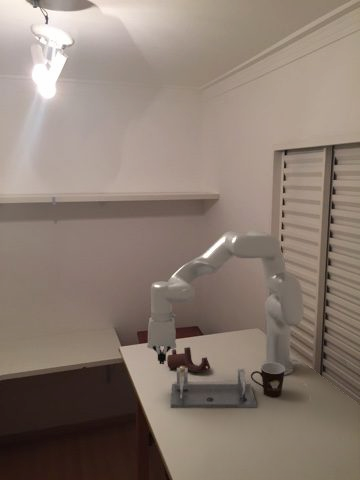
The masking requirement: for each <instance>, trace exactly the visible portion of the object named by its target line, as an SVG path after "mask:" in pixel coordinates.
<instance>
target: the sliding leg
mask: <svg viewBox="0 0 360 480" xmlns="http://www.w3.org/2000/svg"><path fill="white" fill-rule="evenodd" d="M188 371H189V368H187V367H185V366H180V367H179V368H176V382H177V389H180V391H181V399H183V389H188V382H189V377H188V374H189V373H188Z"/></svg>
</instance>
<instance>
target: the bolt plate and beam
mask: <svg viewBox="0 0 360 480" xmlns="http://www.w3.org/2000/svg"><path fill="white" fill-rule="evenodd" d="M170 394H171V396H170V408H178V409H181V408H185V409H186V408H191V409H192V408H197V409H198V408H199V409H200V408H203V409H204V408H206V409H207V408H257V403H256V398H255V395H254V391H253V386H252V384H251V383H250V381H248V380H246V371H245V368H237V380H236V381H230V380H229V381H228V380H227V381H224V380H223V381H219V380H217V381H215V380H214V381H188V389H183V399H181V391H180V389H177V381H174V383H172V384H171V393H170Z"/></svg>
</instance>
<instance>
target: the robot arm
mask: <svg viewBox="0 0 360 480" xmlns="http://www.w3.org/2000/svg"><path fill="white" fill-rule="evenodd" d="M234 257H236V258H239V259H260V260H261V262H262V263H261V264H262V269H263V276H264V284H265V288H266V289H267V290H268V291H269V292H271V293H272V294H270V295H269V296H268V297H267V299H266V300H265V302H264V312H265V319H266V337H265V338H266V339H265V341H266V345H265V347H266V348H265V349H266V351H265V360H264V361H263V362H262V364H261V366H262V365H263V364H264V363H269V362H273V363H278V364H281V365H283V366H284V367H285V373H284V376H287V375H290V374H292V373H293V371H294V366H298V367H299V366H300V367H302V361H301V360H298V358H291V331H292V330H291V329H292V327H296V326H298V325H299V324H300V323H301V322H302V321H303V318H304V314H305V313H304V312H305V309H304V299H303V291H302V285H301V283H300V280H298V278H297V277H296V276H294V275H292V274H291V273H288V272H287V269H286V264H285V258H284V254H283V251H282V249H281V242H280V240H279V239H278V237H277V236H275V235H273V234H271V233H267V232H264V231H262V230H258V229H251V230H249V231H248V232H247V233H246V234H244V233H240V232H237V231H232V230H230V231H227V232H224V233H223V234H222V235H221V236H220V237H219V238H217V240H216V241H215V242H214V243H212V245H211V246H210V247H209V248H208V249H206V250H205V251H204V253H202V254H201V255H199V256H198V257H196V258H194V259H192V260H191V261H188V262H187V263H185V264H184V265H183V266H181V267H180V268H179V269H178V270H177V271H176V272H174V273H173V274H172V275H171V276H170V278H169V279H168V281H156V282H155V281H154V282H153V283H152V284H151V286H150V301H151V302H150V303H151V304H150V307H151V308H150V309H151V313H150V314H151V315H150V317H149V321H148V328H147V347H146V348H148V349H153V350H154V351H155V353H156V354H157V361H158V362H159V365H165V362H166V361H167V353H168V352H169V351H170V350H173V349H176V348H177V344H176V339H177V338H176V337H177V335H176V322H175V318H174V317H176V316H177V313H176V312H174V311H173V304H174V303H176V304H186V303H189V302H191V301H192V300H193V299H194V297H195V296H196V295H195V294H196V292H195V288H194V287H193V285H191V283H193V281H195V280H196V279H198V278H199V277H202V276H206V275H212V274H216V273H218V272H219V271H220V270H221V269H223V267H224V266H225V265H227V263H228V262H229V261H230V260H231V259H232V258H234ZM161 347H163V349H161Z"/></svg>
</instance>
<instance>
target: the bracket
mask: <svg viewBox="0 0 360 480" xmlns="http://www.w3.org/2000/svg"><path fill="white" fill-rule="evenodd" d="M171 351H172V352H171V354H168V355H167V356H166V361H167V362H166V363H167V367H168V369H169V370H170V369H177V368H179V367H180V366H185V368H188V370H189V371H191V372H192V373H197V372H205V371H209V370H210V369H211V366H210V362H209V361H208V360H209V359H208V357H207V356H204V357H202V358H201V363H200V364H199V365H197V364H195V363H194V362H193V360H192V352H191V347H190V346H188V347H184V352H183V353H177V349H176V348H174V349H171Z"/></svg>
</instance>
